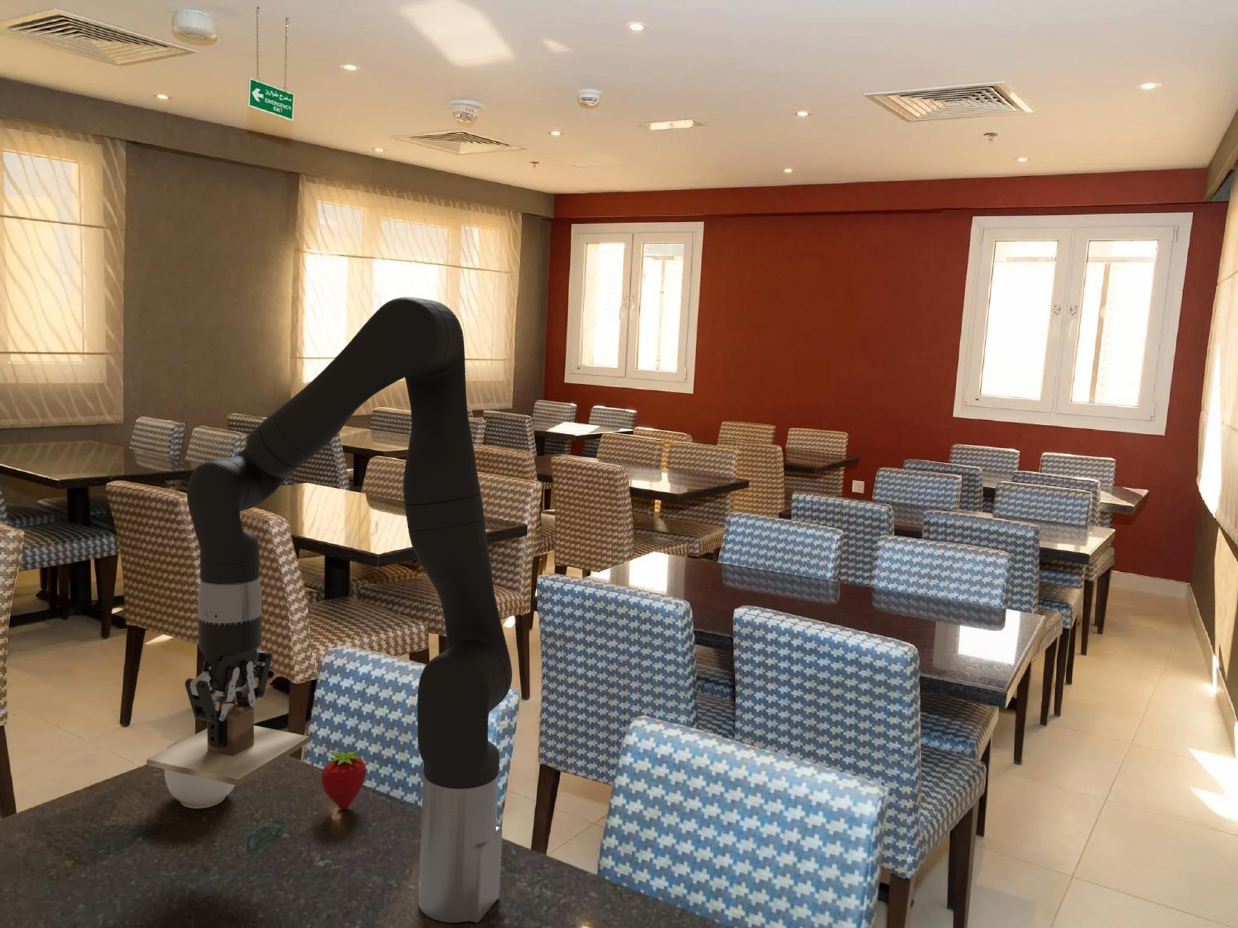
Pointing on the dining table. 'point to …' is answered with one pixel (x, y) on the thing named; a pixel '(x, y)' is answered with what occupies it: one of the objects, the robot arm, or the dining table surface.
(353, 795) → the strawberry
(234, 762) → the lid
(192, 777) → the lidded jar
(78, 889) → the dining table surface
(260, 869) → the dining table surface
